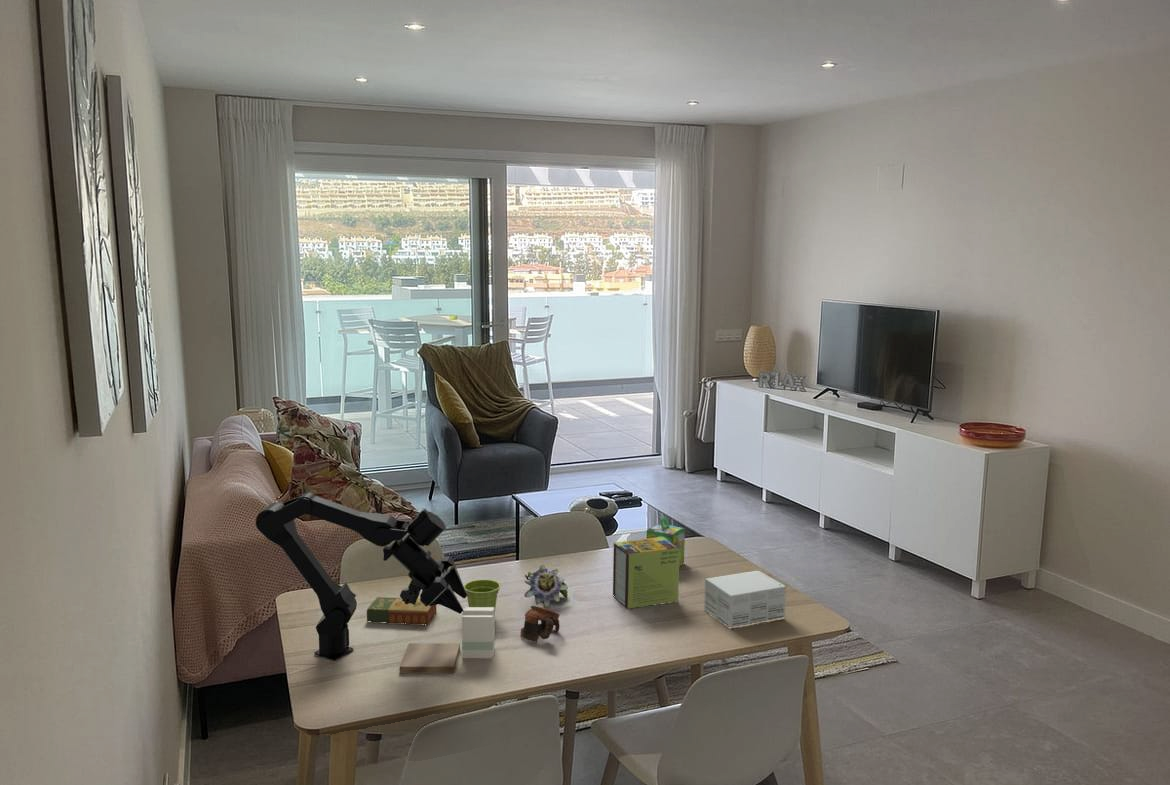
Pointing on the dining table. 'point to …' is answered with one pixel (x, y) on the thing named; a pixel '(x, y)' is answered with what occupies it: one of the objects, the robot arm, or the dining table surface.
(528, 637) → the brown blocky piece
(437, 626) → the dining table surface
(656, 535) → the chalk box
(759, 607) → the supplement box
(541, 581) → the passion flower
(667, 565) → the protein box
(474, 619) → the oat carton
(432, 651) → the plinth
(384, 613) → the carton
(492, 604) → the plant pot
